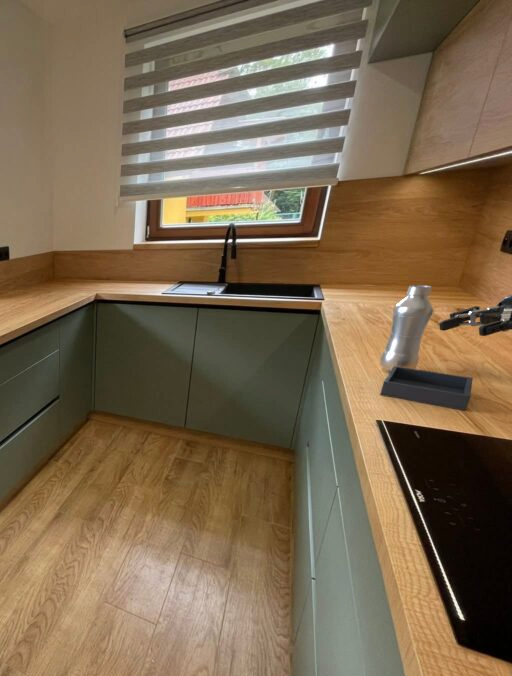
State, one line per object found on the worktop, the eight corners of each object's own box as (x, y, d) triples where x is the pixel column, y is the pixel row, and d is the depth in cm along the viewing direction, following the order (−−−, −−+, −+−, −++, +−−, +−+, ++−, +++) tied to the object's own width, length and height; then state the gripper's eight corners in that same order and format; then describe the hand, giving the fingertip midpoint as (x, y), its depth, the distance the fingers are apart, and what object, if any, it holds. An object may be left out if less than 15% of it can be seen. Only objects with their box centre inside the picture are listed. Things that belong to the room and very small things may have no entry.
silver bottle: (417, 377, 98) (445, 289, 91) (378, 372, 101) (402, 287, 94) (412, 369, 103) (438, 285, 96) (375, 365, 106) (398, 283, 99)
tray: (465, 410, 81) (470, 396, 80) (380, 394, 89) (383, 381, 88) (467, 391, 89) (472, 377, 88) (389, 378, 98) (393, 365, 97)
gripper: (579, 325, 87) (496, 350, 89) (501, 318, 101) (430, 339, 103) (579, 290, 85) (494, 316, 87) (499, 287, 99) (427, 310, 101)
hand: (459, 329), depth 95 cm, fingers open, 8 cm apart
